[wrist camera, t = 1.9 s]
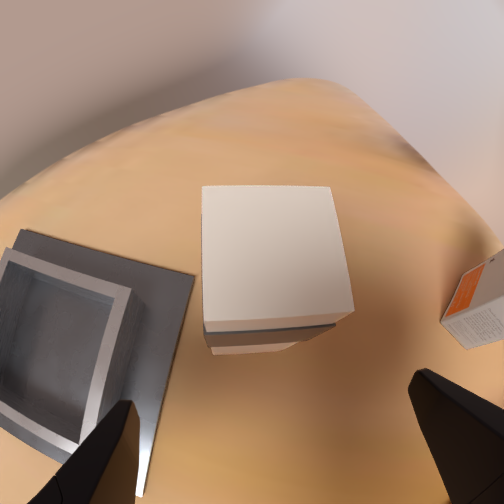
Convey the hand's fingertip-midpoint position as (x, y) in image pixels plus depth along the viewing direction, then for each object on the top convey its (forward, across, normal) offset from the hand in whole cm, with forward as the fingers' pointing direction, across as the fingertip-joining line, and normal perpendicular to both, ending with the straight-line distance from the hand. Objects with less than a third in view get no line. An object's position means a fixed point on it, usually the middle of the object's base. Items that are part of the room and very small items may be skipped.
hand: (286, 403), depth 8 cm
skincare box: (+10, -19, +6) cm, 23 cm away
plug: (+11, 0, +5) cm, 12 cm away
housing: (+10, +13, +6) cm, 18 cm away
